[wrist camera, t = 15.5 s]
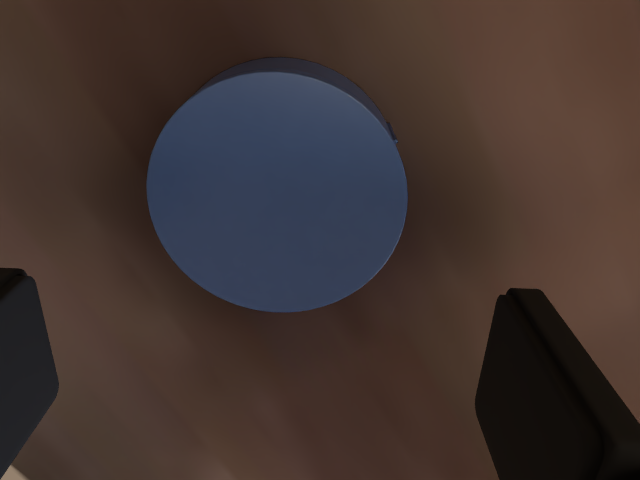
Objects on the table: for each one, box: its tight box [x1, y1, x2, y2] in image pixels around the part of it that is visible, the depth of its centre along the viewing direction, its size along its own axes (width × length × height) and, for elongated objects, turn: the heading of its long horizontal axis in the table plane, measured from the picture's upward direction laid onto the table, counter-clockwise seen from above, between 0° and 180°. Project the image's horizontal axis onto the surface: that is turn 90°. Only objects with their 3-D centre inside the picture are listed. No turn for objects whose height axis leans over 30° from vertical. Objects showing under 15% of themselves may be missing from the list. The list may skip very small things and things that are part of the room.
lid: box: [146, 57, 408, 312], centre depth 14 cm, size 7×7×2 cm
